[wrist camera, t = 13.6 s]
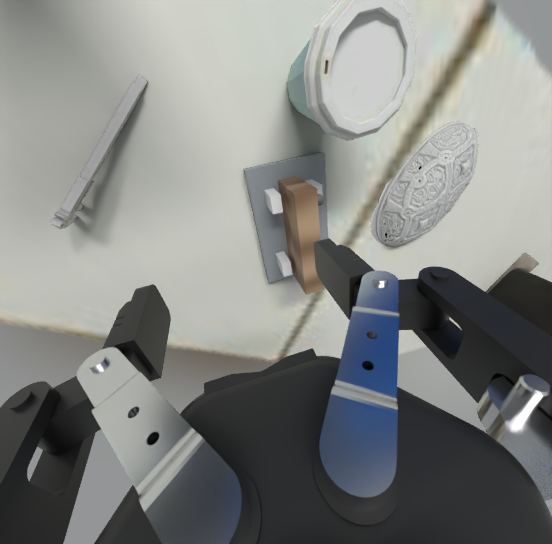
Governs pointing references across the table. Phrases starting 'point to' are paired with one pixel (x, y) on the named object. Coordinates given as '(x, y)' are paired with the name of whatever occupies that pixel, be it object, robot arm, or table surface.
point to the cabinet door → (301, 229)
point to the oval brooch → (426, 185)
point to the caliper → (98, 156)
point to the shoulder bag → (525, 293)
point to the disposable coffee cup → (355, 67)
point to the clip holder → (271, 211)
